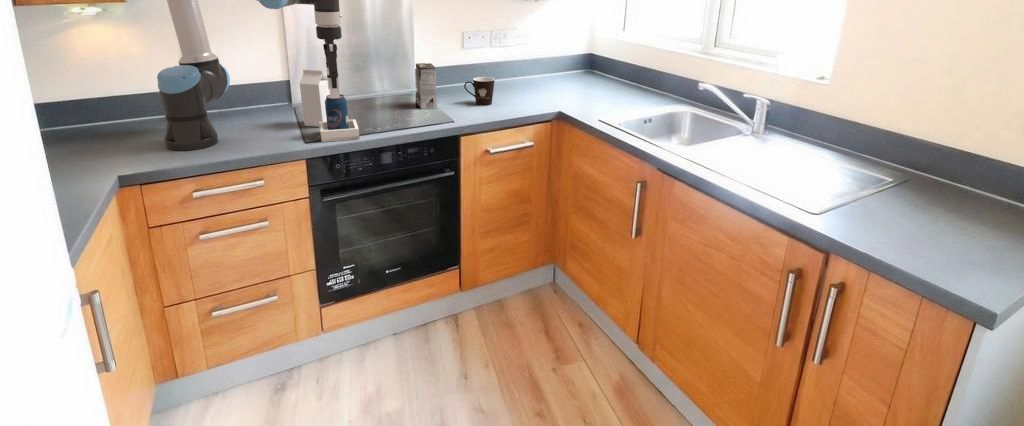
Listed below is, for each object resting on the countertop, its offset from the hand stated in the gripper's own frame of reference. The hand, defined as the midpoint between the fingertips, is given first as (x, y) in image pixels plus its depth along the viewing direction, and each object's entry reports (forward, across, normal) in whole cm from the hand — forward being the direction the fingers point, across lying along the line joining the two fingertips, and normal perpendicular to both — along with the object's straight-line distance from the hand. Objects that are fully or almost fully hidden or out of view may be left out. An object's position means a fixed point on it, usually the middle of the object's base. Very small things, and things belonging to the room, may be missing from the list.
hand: (333, 93), depth 196 cm
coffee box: (+14, +32, -37) cm, 51 cm away
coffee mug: (+13, +31, -59) cm, 68 cm away
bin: (+14, 0, -1) cm, 14 cm away
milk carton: (+15, +16, +5) cm, 22 cm away
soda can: (+13, +1, -1) cm, 13 cm away
